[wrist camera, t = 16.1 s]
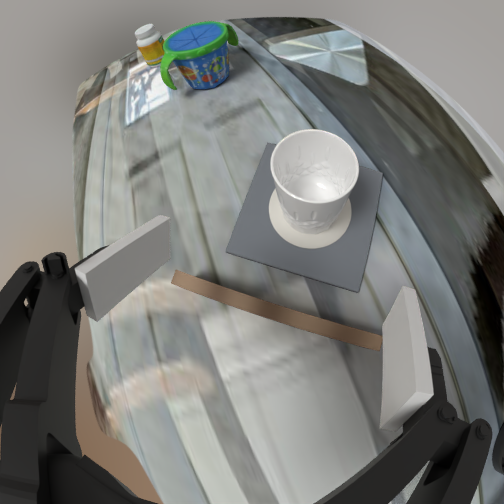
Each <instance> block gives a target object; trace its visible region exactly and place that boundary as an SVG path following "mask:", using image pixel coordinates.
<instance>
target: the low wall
mask: <svg viewBox="0 0 504 504" xmlns="http://www.w3.org/2000/svg"><path fill="white" fill-rule="evenodd" d="M171 283H172V284H174V285H177V286H179V287H182V288H184V289H187V290H189V291H192V292H195V293H197V294H200V295H203V296H205V297H208V298H211V299H213V300H216V301H219V302H222V303H224V304H227V305H230V306H233V307H236V308H239V309H241V310H244V311H247V312H250V313H253V314H256V315H259V316H262V317H265V318H268V319H271V320H274V321H277V322H280V323H283V324H286V325H290V326H293V327H296V328H299V329H302V330H306V331H309V332H312V333H315V334H319V335H322V336H326V337H329V338H332V339H336V340H339V341H343V342H346V343H350V344H354V345H357V346H361V347H364V348H368V349H372V350H376V351H380V348H381V345H382V341H383V336H381V335H377V334H373V333H370V332H366V331H363V330H359V329H356V328H352V327H349V326H345V325H342V324H338V323H335V322H332V321H328V320H325V319H322V318H318V317H315V316H312V315H308V314H305V313H302V312H299V311H296V310H292V309H289V308H286V307H283V306H280V305H277V304H274V303H270V302H267V301H264V300H261V299H258V298H255V297H252V296H249V295H246V294H243V293H240V292H237V291H234V290H231V289H229V288H226V287H223V286H220V285H217V284H214V283H211V282H208V281H206V280H203V279H200V278H197V277H194V276H192V275H189V274H186V273H183V272H181V271H178V270H176V271H175V274H174V276H173V279H172V282H171Z"/></svg>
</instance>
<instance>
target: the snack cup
mask: <svg viewBox="0 0 504 504" xmlns="http://www.w3.org/2000/svg"><path fill="white" fill-rule="evenodd" d="M227 41H228V43H229V44H231V45H233V46H237V45H238V37H237V35H236V32H235V31H234V29H233V28H232V26H230V25H229V24H224V23H220V22H212V21H209V22H200V23H196V24H192V25H189V26H186V27H184V28H181V29H179V30H178V31H176V32H174V33H173V34H171V35H170V36H169V37H168V38H167V39H166V40H165V42H164V44H163V49H164V52H165V54H164V56H163V58H162V60H161V66H160V71H161V76H162V80H163V82H164V83H165V84H166V85H167V86H168V87H170V88H171V89H174V90H177V88H176V87H175V86H174V84H173V81H172V79H171V77H170V74H169V72H168V69H169V66H170V64H171V62H172V61H173V62H174V63H175V65H176V66H177V68H178V70H179V71H180V72H181V74H182V75H183V77H184V78H185V80H186V81H187V82H188V84H189V85H190V86H191V87H192V88H193V89H208V88H215V87H216V86H217V85H219V84H221V83H222V82H223V81H224V80H225V79H226V78H227V77H228V76H229V60H228V49H227Z"/></svg>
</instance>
